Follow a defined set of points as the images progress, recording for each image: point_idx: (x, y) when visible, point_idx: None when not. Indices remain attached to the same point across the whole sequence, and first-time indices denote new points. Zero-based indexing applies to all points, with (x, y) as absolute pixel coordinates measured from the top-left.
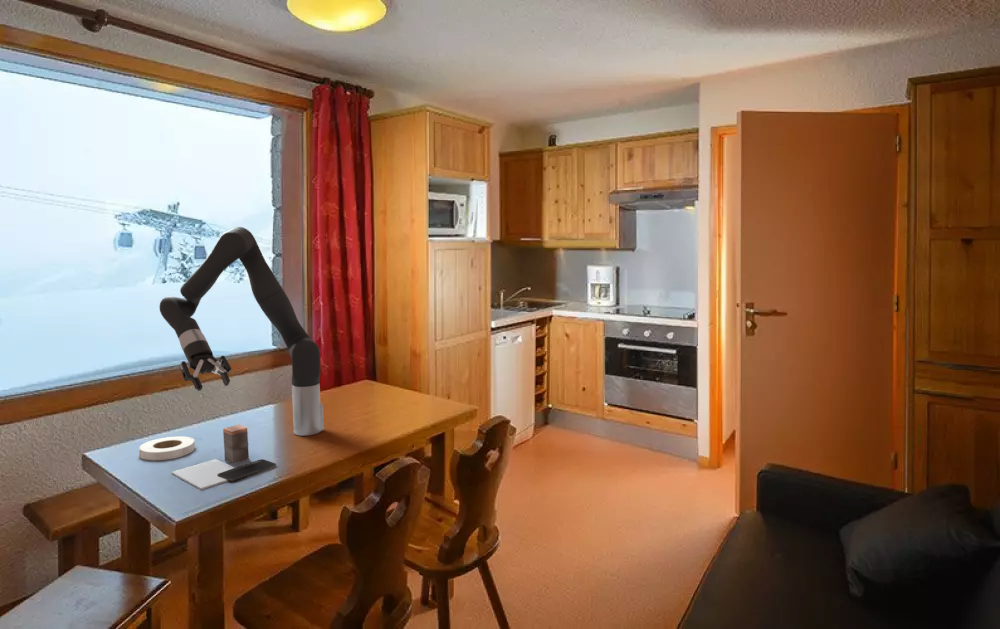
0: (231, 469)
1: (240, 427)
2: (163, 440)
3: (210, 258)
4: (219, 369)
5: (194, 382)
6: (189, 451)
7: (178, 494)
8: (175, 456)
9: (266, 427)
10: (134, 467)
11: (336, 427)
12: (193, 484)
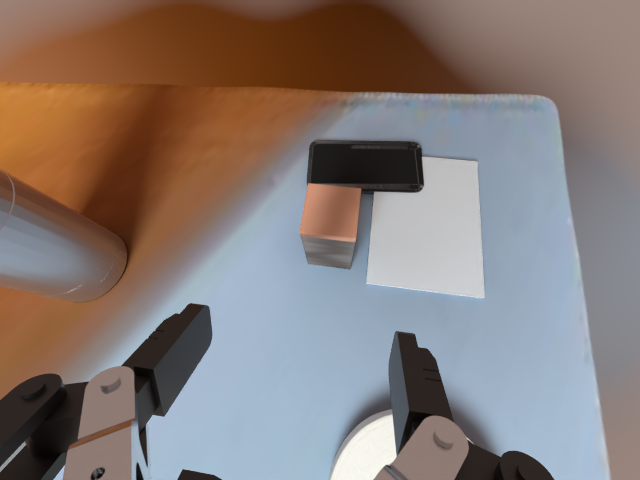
0: (386, 189)
1: (317, 202)
2: None
3: None
4: (134, 419)
5: (443, 400)
6: (376, 414)
7: (516, 179)
8: None
9: None
10: (542, 445)
11: None
12: (478, 191)
